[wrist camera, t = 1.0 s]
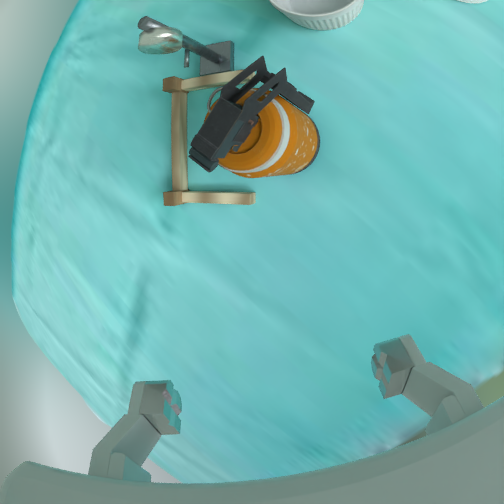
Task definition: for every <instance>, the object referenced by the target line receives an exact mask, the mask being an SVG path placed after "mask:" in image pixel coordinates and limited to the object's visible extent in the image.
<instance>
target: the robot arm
mask: <svg viewBox="0 0 504 504" xmlns="http://www.w3.org/2000/svg"><path fill="white" fill-rule="evenodd" d="M458 1H462V2H466V3H482V2H485V1H487V0H458ZM373 350H374V353H375V354H374V355H373V356H372V360H371V365H372V371H373V374H374V377H375V378H376V379H378V380H379V381H380V383H379V389H380V391H381V393H382V396H383V398H384V399H385V398H389V397H392V396H395V395H399V394H402V395H404V396H405V397H406V398H408V399H409V400H410V401H412V402H413V403H414V404H415V405H417V406H418V407H419V408H421V409H422V410H423V411H425V412H426V413H427V414H429V415H430V416H431V417H432V418H431V419H430V421H429V422H428V424H427V425H426V427H425V431H426V433H427V436H425V437H423V438H420V439H418V440H415V441H413V442H410V443H407V444H405V445H402V446H399V447H397V448H394V449H391V450H388V451H385V452H382V453H379V454H376V455H373V456H369V457H366V458H363V459H359V460H356V461H352V462H348V463H345V464H341V465H337V466H333V467H328V468H324V469H319V470H315V471H310V472H305V473H299V474H294V475H288V476H281V477H274V478H267V479H259V480H249V481H238V482H224V483H194V484H183V483H178V484H177V483H153V482H151V475H150V473H148V472H147V471H146V470H144V469H143V468H141V466H142V464H143V463H144V461H145V460H146V458H147V457H148V455H149V454H150V452H151V451H152V449H153V448H154V446H155V445H156V443H157V442H158V440H159V439H160V437H161V435H168V434H180V426H181V420H180V419H179V417H178V415H179V414H180V412H181V411H182V403H181V397H180V395H179V393H178V391H177V390H175V389H173V383H172V382H171V380H163V381H140V382H135V383H134V385H133V389H132V394H131V399H130V404H129V409H128V414H124V416H123V417H122V418H121V419H120V420H119V421H118V422H117V423H116V424H115V426H114V427H113V428H112V429H111V430H110V431H109V432H108V433H107V435H106V436H105V437H104V438H103V439H102V440H101V441H100V442H99V443H98V444H97V445H96V447H95V448H94V449H93V452H92V457H91V462H90V468H89V473H88V475H86V474H81V473H75V472H70V471H66V470H61V469H57V468H53V467H49V466H45V465H41V464H38V463H34V462H30V461H25V462H23V463H22V464H20V465H19V466H18V467H17V468H15V469H14V470H13V471H12V472H11V473H10V474H9V475H8V476H7V477H6V479H5V480H4V482H3V484H2V487H1V489H0V504H504V396H503V397H502V398H500V399H498V400H497V401H495V402H493V403H492V404H490V405H488V406H486V407H485V408H484V407H483V405H482V403H481V401H480V399H479V398H478V396H477V394H476V392H475V390H474V389H473V387H472V385H471V384H469V383H467V382H465V381H463V380H462V379H460V378H458V377H456V376H454V375H452V374H451V373H449V372H447V371H445V370H443V369H442V368H440V367H438V366H436V365H434V364H433V363H431V362H427V363H426V361H425V359H424V357H423V356H422V354H421V352H420V350H419V349H418V347H417V345H416V344H415V342H414V340H413V339H412V337H411V336H410V335H409V334H408V335H404V336H401V337H398V338H393V339H390V340H387V341H384V342H380V343H377V344H375V345H374V349H373Z"/></svg>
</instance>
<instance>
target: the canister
mask: <svg viewBox="0 0 504 504" xmlns="http://www.w3.org/2000/svg"><path fill="white" fill-rule="evenodd" d="M256 70H257V73H256V75H255V76H254V77H253V78H251V79H250V80H249V81H248V82H247V83H246V84H245V85H244V86H243V87H242V88H241V89H238V88H236V86H237V85H238V84H239V83H241V82H242V81H243V80H244V79H246V78H247V77H248V76H250V75H251V74H252V73H253V72H255V71H256ZM259 81H261V82H262V83H264V85H262V86H261V87H260V88H253V87H254V86H255V85H256V84H257V83H258V82H259ZM270 88H271V89H273V90H272V91H269V89H270ZM220 90H222V91H221V95H220V98H219V99H218V100H217V101H216V102H215V103H214V104H213V105H212V106H211V108H210V104H211V101H212V98H213V97H214V95H215V94H216V93H217V92H218V91H220ZM296 90H297V89H296V88H295V87H294V86H293V85H292V84H290V83H289V82H287V76H286V69H285V68H283V69H282V70H281V71H280V72H278V73H277V74H276V75H275V74H273V73H269V72H268V71H267V68H266V64H265V60H264V56H262V57H260V58H259V59H258V60H256V61H255V62H254V63H252V64H251V65H250V66H248V67H247V68H246V69H244V70H243V71H242V72H241V73H239V74H238V75H237V76H236V77H234V78H233V79H232V80H231V81H229V82H228V83H227V84H226V85H224V86H223V87H220V88H218V89H216V90H215V91H214V92H213V93H212V95H211V96H210V98H209V100H208V104H207V109H208V113H207V115H206V117H205V120H204V124H203V125H202V127H201V129H200V130H199V132H198V134H196V135H195V137H194V138H193V140H192V142H191V146H192V148H191V149H190V151H189V154H190V155H189V156H188V157H190V158H191V159H192V160H193V161H195V162H196V163H197V164H199V165H200V166H201V167H202V168H204V169H205V170H206V171H207V172H211V171H213V170H214V169H215V168H216V167H217V165H220V166H221V167H223V168H224V169H227V170H229V171H231V172H232V173H234V174H236V175H239V176H242V177H247V178H259V177H268V176H278V175H288V174H294V173H298V172H300V171H302V170H304V169H306V168H307V167H308V166H309V165H310V164H311V163H312V162H313V161H314V159H315V158H316V156H317V154H318V151H319V147H320V136H319V132H318V129H317V127H316V125H315V123H314V122H313V121H312V120H311V118H310V117H308V116H307V115H306V114H305V113H303V112H302V111H301V110H303V111H304V112H306V113H307V114H309V112H310V110H311V108H312V106H313V104H314V102H315V101H314V100H312V99H310V98H309V97H307V96H306V95H304V94H303V93H301V92H300V91H298V92H297V91H296ZM278 94H280V95H281V96H283V97H284V98H286V99H287V100H288V101H290V102H291V103H292V104H294V105H295V106H297V107H298V108H300V109H301V110H299V109H298V108H296V107H295V106H294V105H292V104H291V103H289V102H288V101H287V100H285V99H284V98H282V97H281V96H279V95H278Z"/></svg>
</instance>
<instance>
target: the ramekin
mask: <svg viewBox="0 0 504 504" xmlns="http://www.w3.org/2000/svg"><path fill="white" fill-rule="evenodd" d="M269 1H270V3H271V4H272V5H273V6H274V7H275V8H276V9H277V10H279V11H280V12H282V13H284V14H285V15H286V16H287V17H288V18H290V19H291V20H292V21H293V22H295V23H297V24H298V25H301V26H303V27H306V28H309V29H313V30H332V29H336V28H340V27H342V26H345V25H347V24H349V23H350V22H351V21H353V20H354V19H355V18H356V17H357V16H358V14H359V13H360V12H361V9H362V7H363V4H364V0H269Z"/></svg>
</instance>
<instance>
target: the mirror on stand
mask: <svg viewBox="0 0 504 504" xmlns="http://www.w3.org/2000/svg"><path fill="white" fill-rule="evenodd" d="M138 28H139V29H142V30H144V31H143V32H141V33H140V35H139V43H138V49H139V51H141V52H143V53H146V54H168V53H173V52H176V51H178V50H180V49H181V48H182V47H183V48H185V59H184V67H189V52H190V51H191V52H193V53H195V54H197V55H199V56H200V76H206V75H212V74H218V73H224V72H230V71H234V43H233V42H232V41H226V42H220V43H216V44H211V45H206V46H204V45H202V44H200V43H199V42H197V41H195V40H193V39H191V38H189V37H188V36H186V35H184V34H183V33H182V32H181V31H180V30H178V29H176V28H172V27H168V26H166V25H164V24H162V23H160V22H158V21H156V20H154V19H152V18H149V17H147V16H145V17H143V18H141V19H140V21H139V22H138Z"/></svg>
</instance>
